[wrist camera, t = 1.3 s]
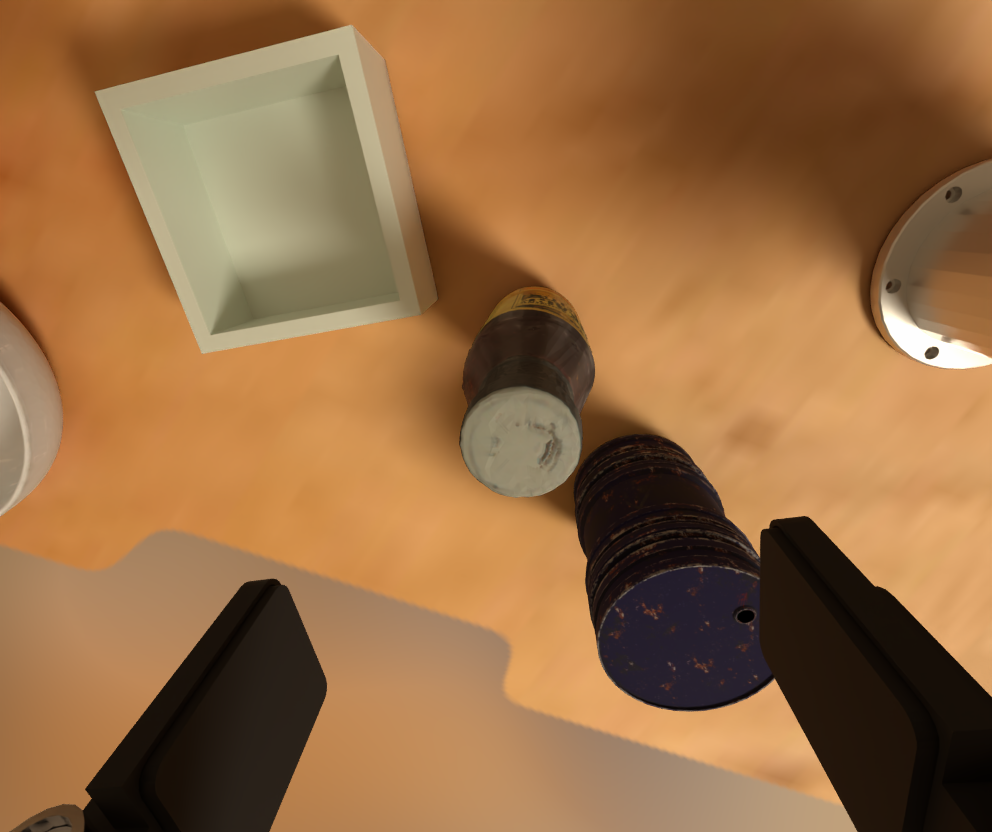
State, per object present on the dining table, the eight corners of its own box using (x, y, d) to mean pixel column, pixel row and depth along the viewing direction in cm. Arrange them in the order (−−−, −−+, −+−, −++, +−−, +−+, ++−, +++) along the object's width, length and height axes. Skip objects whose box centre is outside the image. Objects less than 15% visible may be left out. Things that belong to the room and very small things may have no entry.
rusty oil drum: (620, 563, 41) (666, 738, 27) (546, 482, 39) (554, 630, 25) (726, 498, 38) (837, 657, 24) (653, 406, 36) (729, 526, 22)
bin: (385, 60, 29) (351, 24, 24) (438, 299, 34) (420, 314, 29) (170, 113, 31) (94, 91, 25) (251, 333, 36) (202, 353, 30)
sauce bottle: (597, 330, 34) (675, 464, 16) (530, 389, 36) (530, 569, 18) (532, 259, 33) (535, 314, 14) (466, 324, 35) (393, 447, 16)
